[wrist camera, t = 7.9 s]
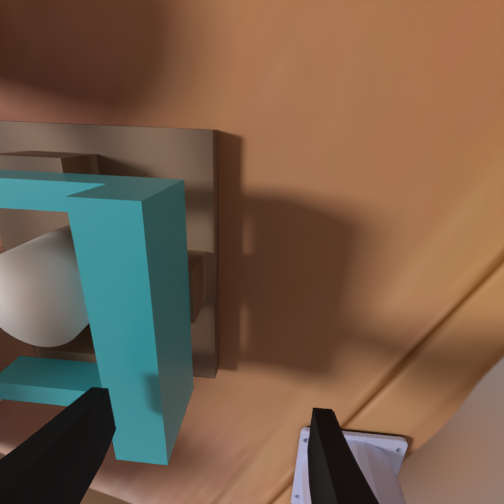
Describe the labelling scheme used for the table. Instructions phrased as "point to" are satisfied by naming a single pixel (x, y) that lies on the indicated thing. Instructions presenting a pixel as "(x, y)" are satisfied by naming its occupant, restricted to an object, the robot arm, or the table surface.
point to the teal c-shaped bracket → (118, 304)
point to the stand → (61, 241)
